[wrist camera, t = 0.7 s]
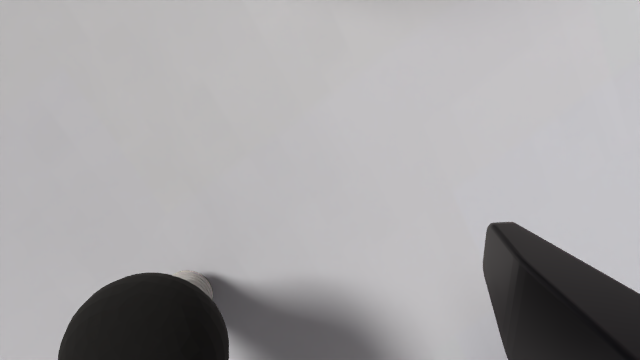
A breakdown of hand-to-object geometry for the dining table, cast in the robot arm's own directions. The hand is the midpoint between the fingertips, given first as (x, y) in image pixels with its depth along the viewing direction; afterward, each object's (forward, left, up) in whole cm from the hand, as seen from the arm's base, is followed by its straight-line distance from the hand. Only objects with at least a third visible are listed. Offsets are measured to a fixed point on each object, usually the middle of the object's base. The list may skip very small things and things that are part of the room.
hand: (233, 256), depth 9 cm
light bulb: (-7, +2, -16) cm, 18 cm away
